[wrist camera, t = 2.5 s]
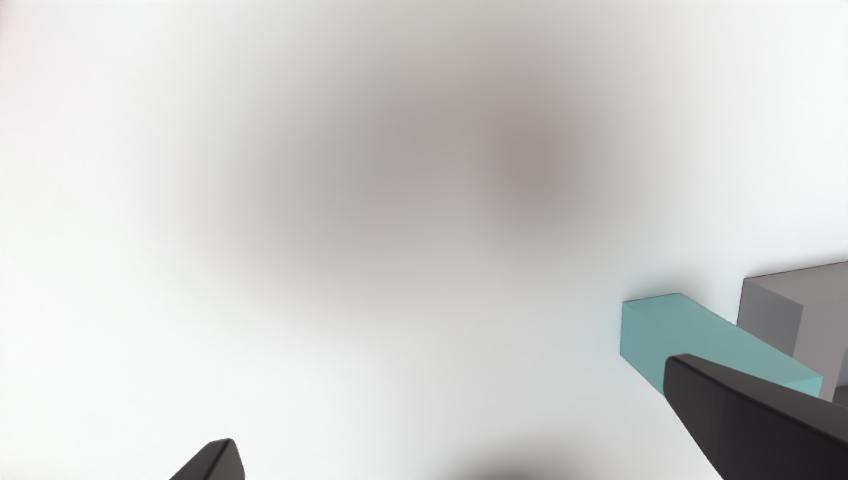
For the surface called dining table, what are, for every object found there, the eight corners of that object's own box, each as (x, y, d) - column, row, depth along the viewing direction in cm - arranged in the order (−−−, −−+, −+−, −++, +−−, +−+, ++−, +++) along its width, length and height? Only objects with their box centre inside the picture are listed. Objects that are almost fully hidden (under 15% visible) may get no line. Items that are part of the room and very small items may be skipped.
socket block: (870, 404, 29) (934, 441, 26) (719, 435, 28) (766, 478, 25) (916, 249, 25) (998, 270, 22) (744, 279, 24) (803, 305, 21)
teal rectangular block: (673, 344, 25) (806, 444, 18) (619, 354, 25) (731, 461, 17) (679, 292, 24) (823, 376, 16) (622, 302, 24) (743, 392, 16)
